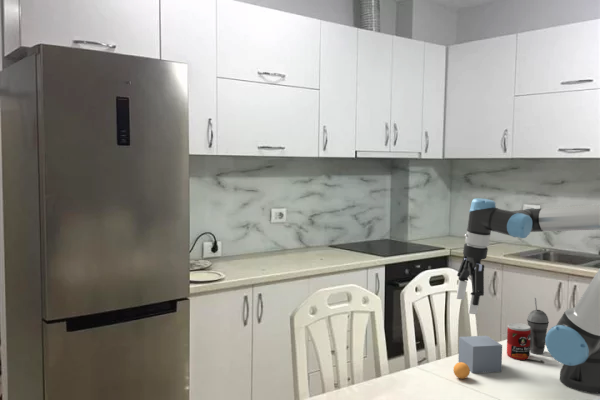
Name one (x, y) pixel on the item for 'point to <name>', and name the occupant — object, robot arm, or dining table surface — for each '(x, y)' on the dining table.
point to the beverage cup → (537, 330)
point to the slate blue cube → (480, 354)
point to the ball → (461, 370)
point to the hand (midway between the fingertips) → (466, 306)
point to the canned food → (518, 341)
